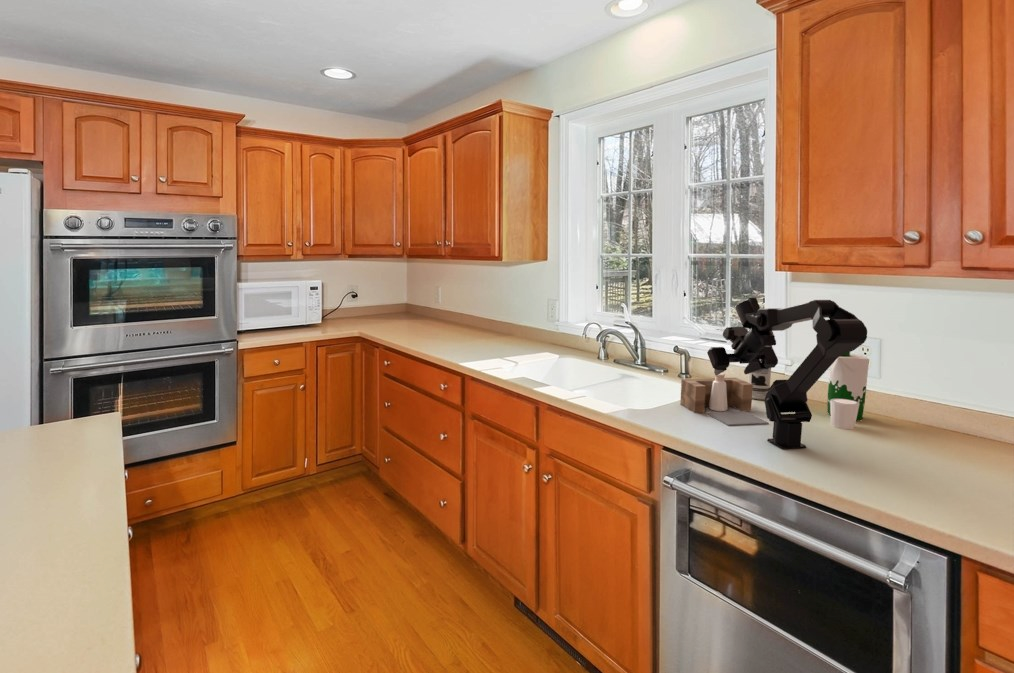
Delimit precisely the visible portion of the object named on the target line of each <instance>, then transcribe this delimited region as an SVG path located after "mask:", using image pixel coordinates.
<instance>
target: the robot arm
mask: <svg viewBox="0 0 1014 673" xmlns="http://www.w3.org/2000/svg"><path fill="white" fill-rule="evenodd" d="M735 311H736V314H737V316H738V318H739V320H740V323H741V326H730V327H726V328H725V329H723V332H722V337H723V338H724V339H725V341H730V342H731V346H730V347H731V349H732V350H734V351H733V353H727V351H726V348H725V347H724V346H711V347H710V348H709V349H708V351H707V356H708V359H709V361H710V363H711V366H712V369H714V371H713V372H714V376H715V375H718V374H720V373H724V372H725V371H727V368H729V366H730V363H739V364H742V365H743V364H747V365H746V367H745V368H744V370H743V372H744V375H748V374H749V373H753V372H756V371H760V370H764V369H769V368H771V369H773V368H775V367H776V366H777V365H778V364H779V359H778V356H777V354H776V352H775V349H774V348H773V346H776V345H777V340H776V338H775V337H776V336H775V334H774V331H776V332H777V331H780V332H783V331H786V330H787V329H790V328H791V327H792V326H793V325H794V324H797V323H802V322H808V321H812V329H813V330H814V331H815V333H816V335H815V336H816V345H815V346H814V347H813V349H812V350H811V351H810V352H809V354H808V355H807V356H806V357H805V359H804V360H803V361H802V362H801V363H800V365H799V366H798V367H797V368H796V370H794V371H793V373H791V376H790V377H789V378H788V379H775V380H774V381H773V382H772V383H771V385H770V388H768V389H767V390H769V391H768V392H767V394H766V397H765V400H764V406H765V407H764V408H765V413H766V419H768V420H769V422H772V423H773V429H772V438H767V442H769V443H771V444H772V445H775V447H778V448H780V449H782V450H785V449H786V450H787V449H789V450H790V449H805V448H807V445H806V444H804V443H801V442H802V432H803V423H810V422H811V420H812V417H813V414H812V412H811V409H810V408H809V405H808V404H807V403H808V396H807V395H808V394H807V393H808V391H809V390H810V389H811V388H812V387H813V386H814V385H815V384H816V383H817V382H818V380H819V379H820V378H821V377H822V376H824V374H825V373H826V371H828V369H830V366H831V365H832V364H833V363H834V361H835V360H836V359H837V358H838V357H839V356H841V355H844V354H846V353H849V352H850V353H851V352H854V351H855V350H857V348H859V347H861V346H862V345H864V343H865V342H866V341H867V337H868V329H867V327H866V324H865V323H864V322H863V321H862V320H861V319H859V318H858V317H857V316H856V315H855V314H854V313H852V312H849V311H848V310H846V309H844V308H843V307H840V306H839V305H838V304H837V303H836V302H835V301H834V300H831V299H812V300H810V301H809V302H804V303H801V304H796V305H792V306H788V307H779V308H771V307H770V308H761V306H760V304H759V302H758V299H757V297H749V298H748V299H746V300H744V301H742V302H740V303H738V304H737V305H736V306H735ZM826 318H828V319H826ZM748 329H749V330H748ZM767 345H772V347H771V346H767Z"/></svg>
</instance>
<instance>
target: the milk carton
mask: <svg viewBox="0 0 1014 673" xmlns="http://www.w3.org/2000/svg"><path fill="white" fill-rule="evenodd" d="M869 363H870V358H868V357H866V356H864V355H863V354H859V353H858V354H855V353H854V354H853V353H851V352H849V353H846V354H844V355H841V356H839V357H838V358H837V359H836V360H835V361H834V363H833V364H832V365H831V366H830V367H829V378H828V388H827V390H828V391H827V401H826V404H827V405H826V406H827V410H826V412H828V413H829V414H830V415H831V410H830V400H831V399H848V400H853V401H856V402H859V403H860V404H859V409H858V414H857V418H856V420H862V421H863V417H864V416H863V415H864V410H865V405H866V397H867V396H866V394H867V385H868V371H869ZM828 413H827V414H828ZM829 414H828V415H829ZM830 415H829V416H830Z"/></svg>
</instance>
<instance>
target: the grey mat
mask: <svg viewBox="0 0 1014 673" xmlns="http://www.w3.org/2000/svg"><path fill="white" fill-rule="evenodd" d="M706 414H707V415H708V416H710V417H712V418H713V417H714V419H715V420H717V421H719V422H721V423H722V424H724V425H726V426H728V427H733V426H734V427H735V426H755V425H757V426H758V425H769V423H770V422H768V421H767V420H765V419H762V418H761V417H758V416H756V415H754V414H752V413H750V412H747V411H741V410H736V411H712V412H711V411H709V412H706Z"/></svg>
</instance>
